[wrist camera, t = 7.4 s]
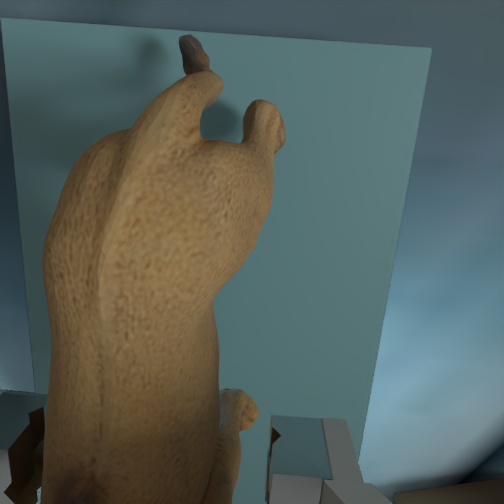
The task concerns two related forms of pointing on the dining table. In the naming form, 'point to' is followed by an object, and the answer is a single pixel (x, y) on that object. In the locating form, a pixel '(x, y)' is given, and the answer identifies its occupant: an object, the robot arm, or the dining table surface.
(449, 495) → the walnut brick
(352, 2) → the dining table surface
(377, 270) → the teal slab
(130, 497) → the lion figurine
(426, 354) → the dining table surface
